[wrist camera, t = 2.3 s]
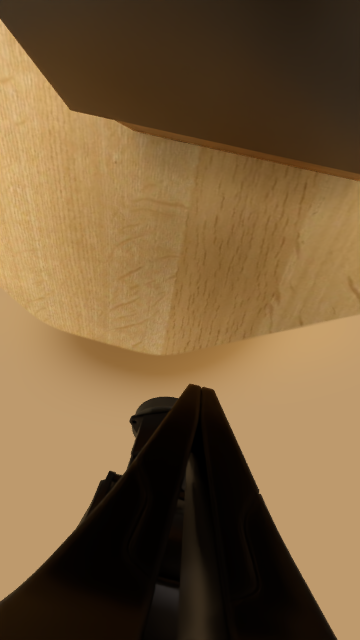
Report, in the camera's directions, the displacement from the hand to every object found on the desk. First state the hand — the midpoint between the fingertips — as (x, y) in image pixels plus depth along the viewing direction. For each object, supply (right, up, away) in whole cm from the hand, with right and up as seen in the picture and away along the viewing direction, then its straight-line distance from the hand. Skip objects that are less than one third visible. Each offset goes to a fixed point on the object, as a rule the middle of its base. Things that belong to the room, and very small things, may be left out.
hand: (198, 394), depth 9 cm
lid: (+2, +8, -7) cm, 11 cm away
